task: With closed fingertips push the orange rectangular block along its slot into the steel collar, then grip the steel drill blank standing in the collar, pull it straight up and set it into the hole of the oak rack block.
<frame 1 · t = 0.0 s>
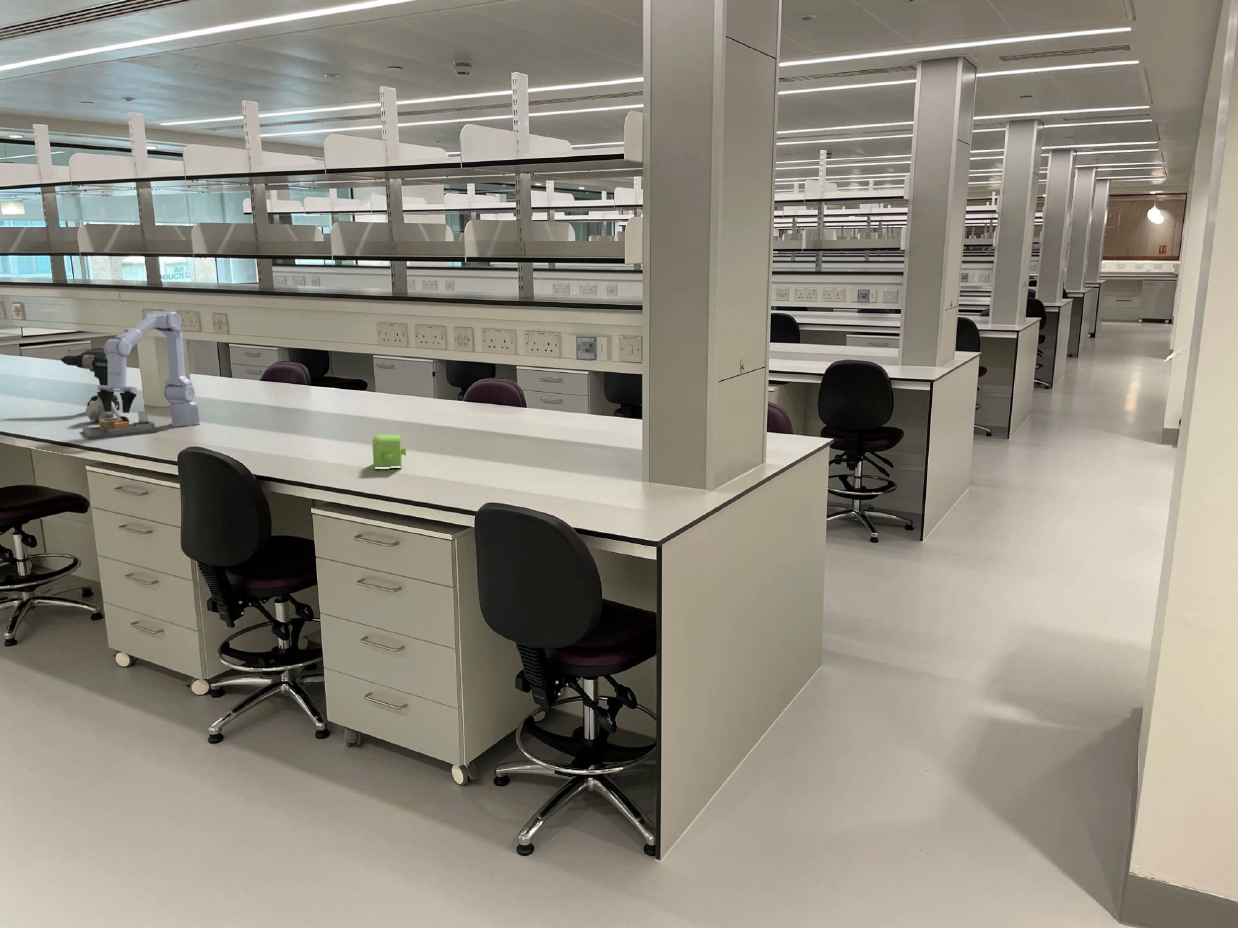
hand: (116, 412, 308), 11 cm above the table, fingers open, 7 cm apart
mechanical valve: (112, 424, 341), on the table
rack: (111, 427, 328), resting on slate board
orange rectangular block: (121, 426, 325), point 3 cm above the table, slide at 0.0 cm
power drill: (98, 412, 363), on the table
gearbox: (390, 467, 281), on the table
drill blank: (144, 427, 329), point 1 cm above the table, touching slate board
slate board: (119, 432, 326), on the table
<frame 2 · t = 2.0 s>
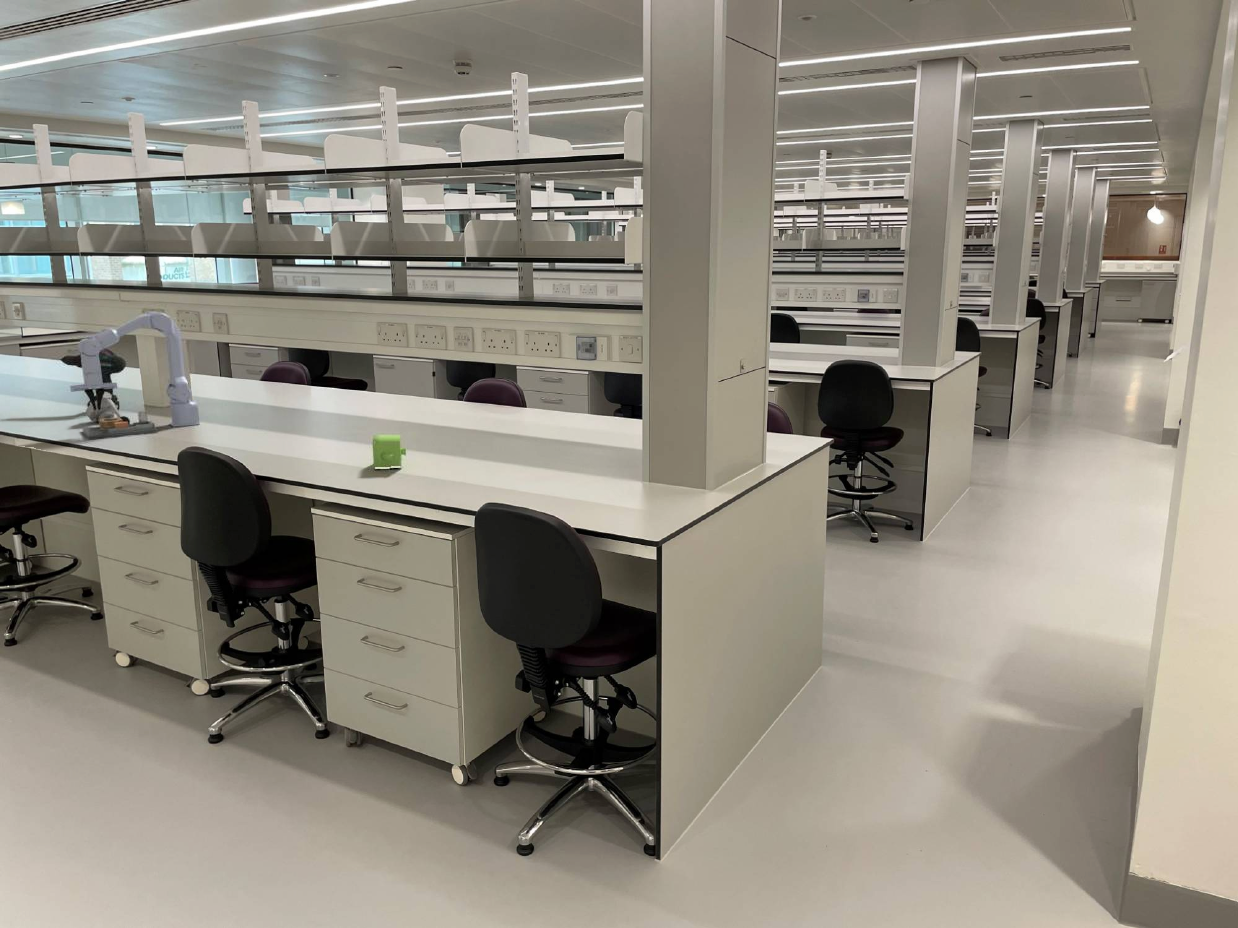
hand: (97, 409, 319), 9 cm above the table, fingers closed
nothing on the table moved.
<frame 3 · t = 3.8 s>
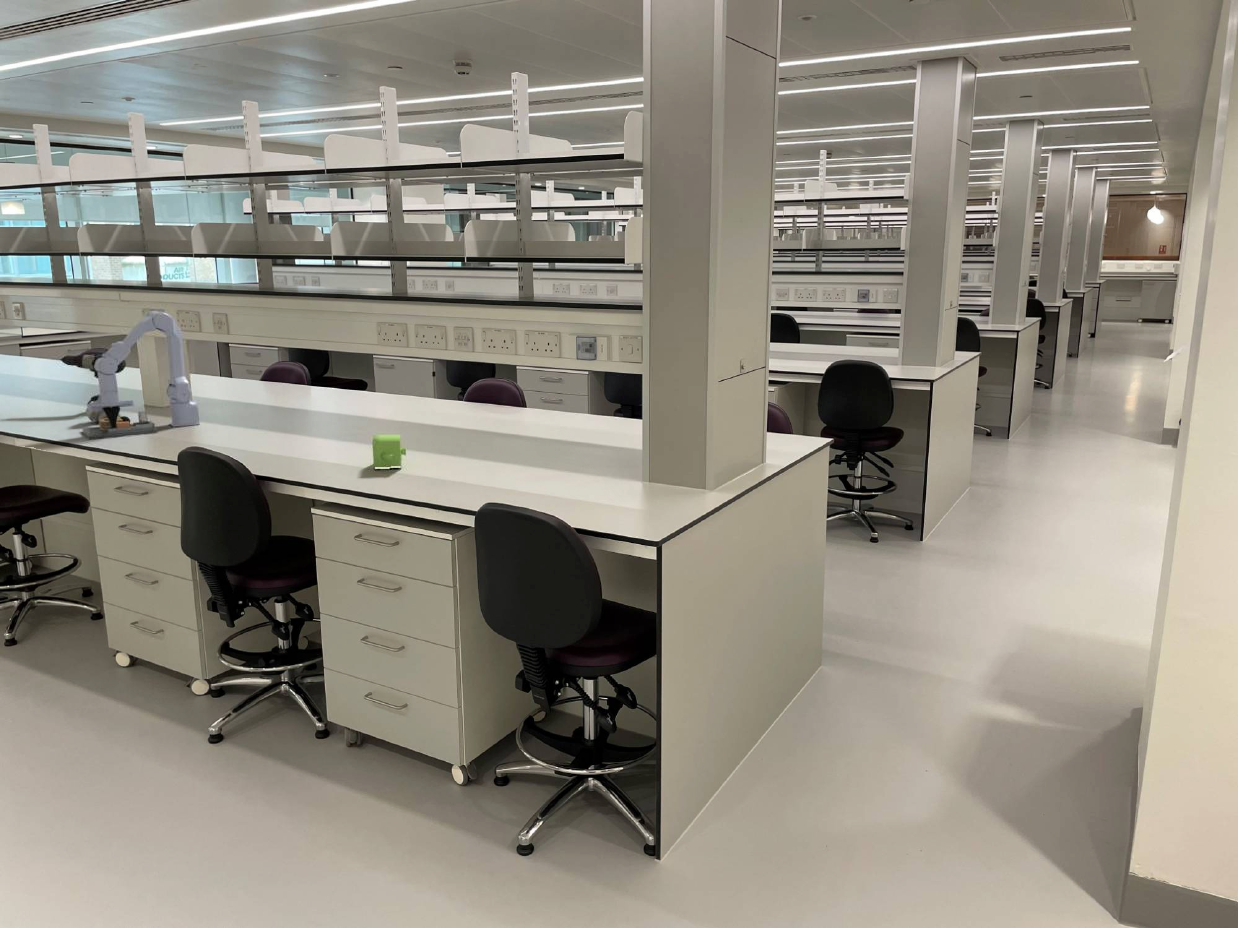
hand: (113, 427, 323), 2 cm above the table, fingers closed
orange rectangular block: (123, 425, 325), point 3 cm above the table, slide at 0.6 cm, touching gripper
everything else where it was.
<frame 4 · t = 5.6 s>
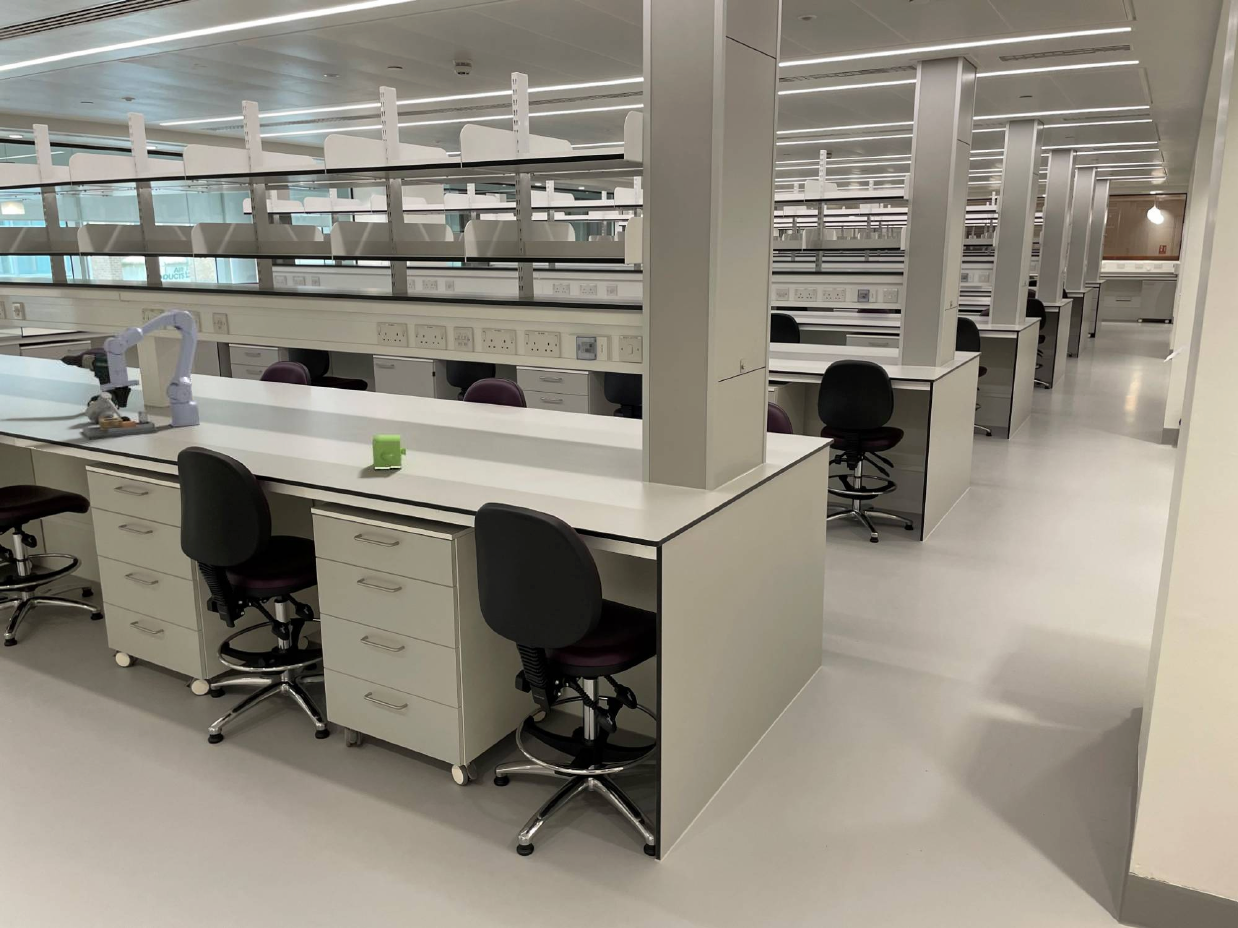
hand: (123, 407, 324), 9 cm above the table, fingers closed
orange rectangular block: (129, 425, 326), point 3 cm above the table, slide at 2.6 cm
everything else where it was.
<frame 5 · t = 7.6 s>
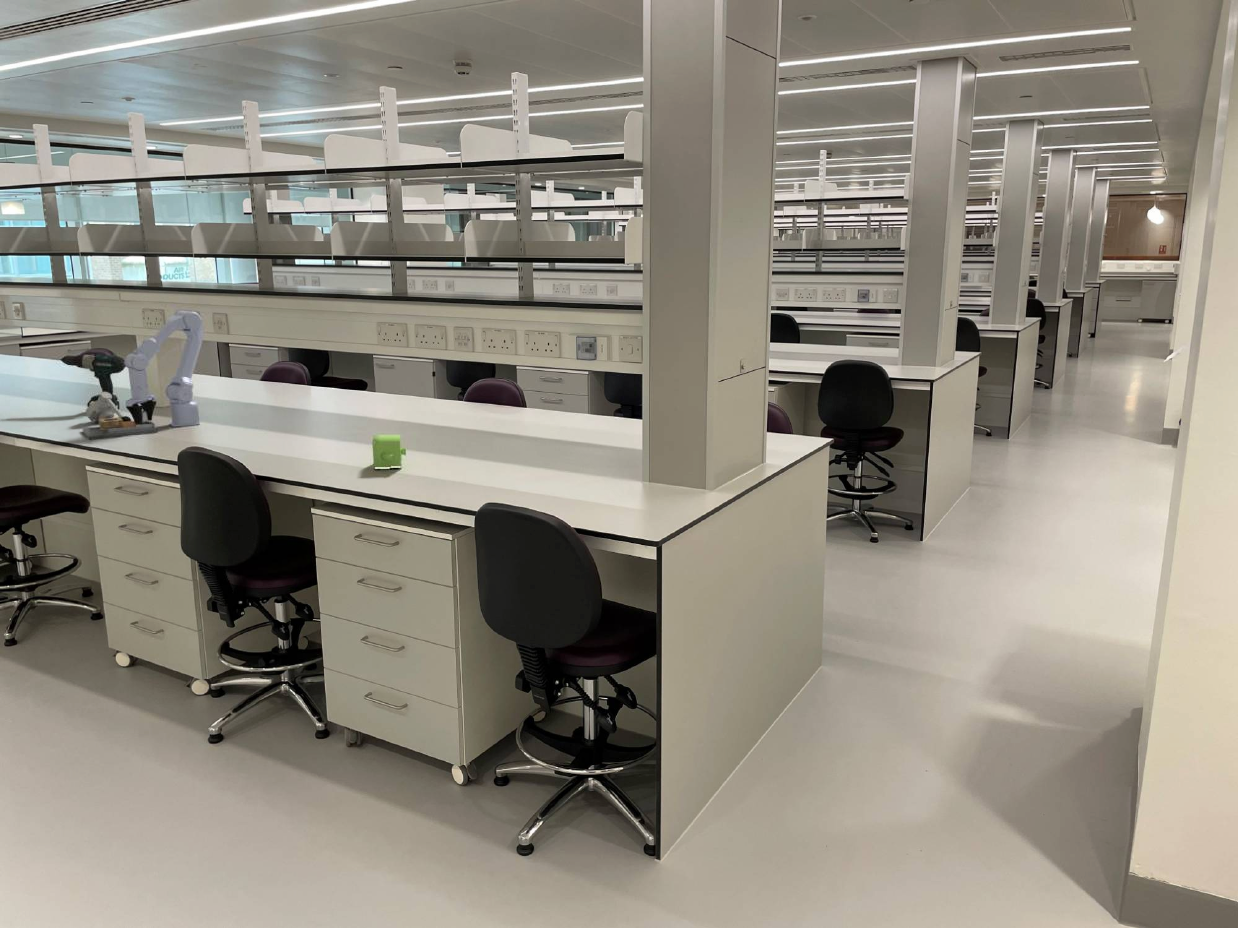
hand: (143, 422, 329), 3 cm above the table, fingers open, 5 cm apart
orange rectangular block: (129, 425, 326), point 3 cm above the table, slide at 2.6 cm, touching gripper
everything else where it was.
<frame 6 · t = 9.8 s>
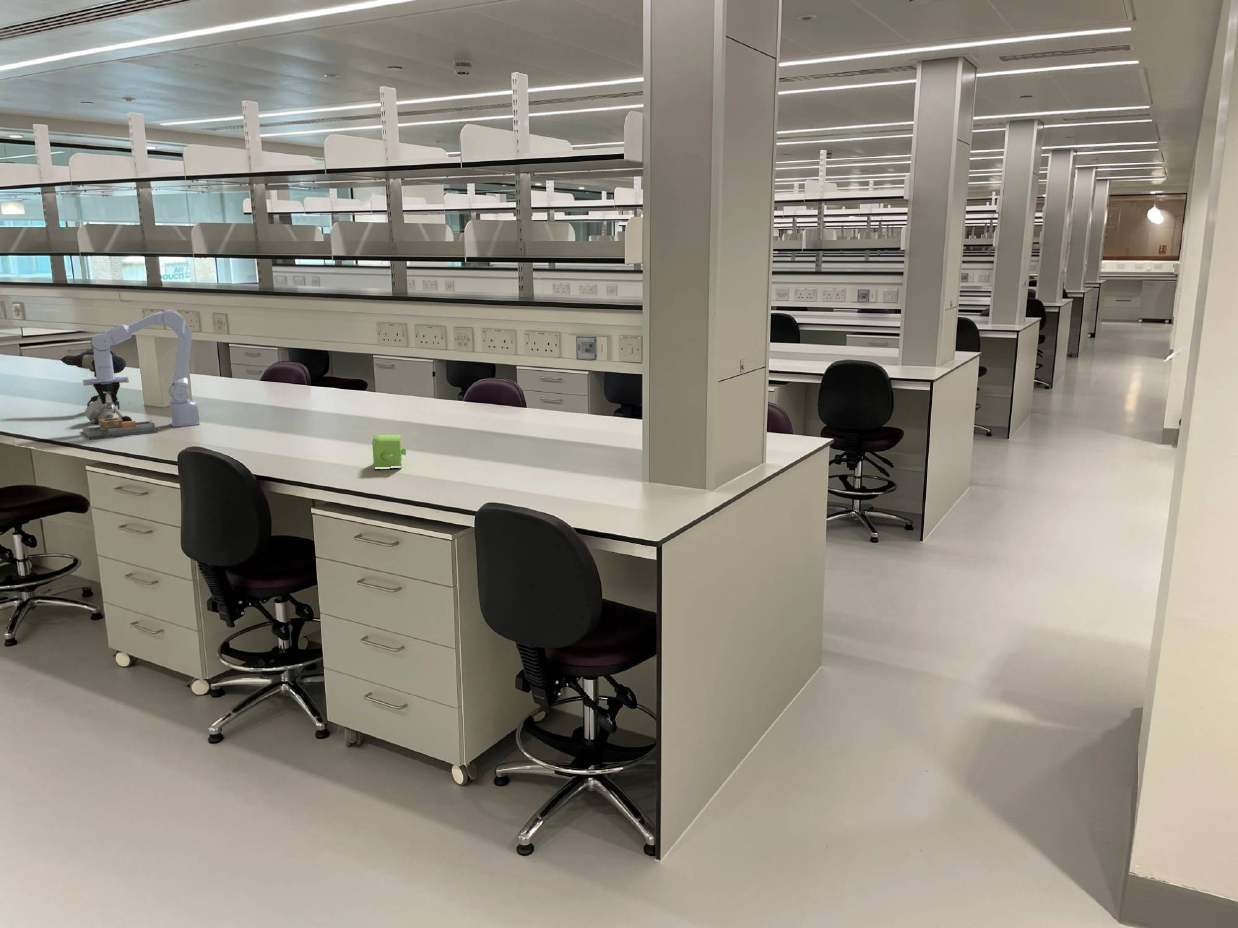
hand: (108, 403, 326), 10 cm above the table, fingers closed on drill blank, 3 cm apart
orange rectangular block: (129, 425, 326), point 3 cm above the table, slide at 2.5 cm
drill blank: (109, 408, 326), point 8 cm above the table, touching gripper
everything else where it was.
when the fingers open (4 cm above the table, at t = 11.3 s): drill blank drops 1 cm, resting on slate board.
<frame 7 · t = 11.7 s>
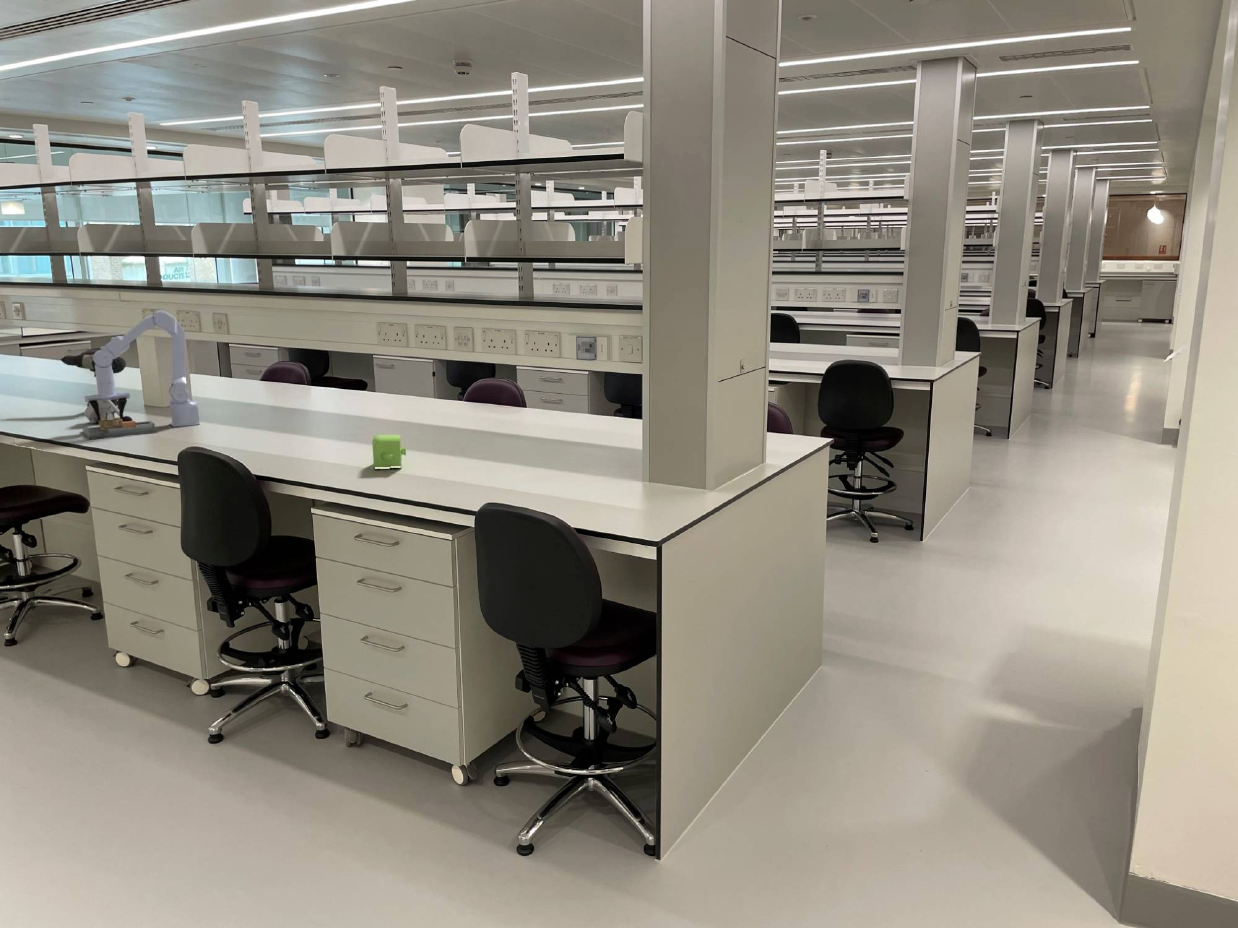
hand: (110, 419, 327), 4 cm above the table, fingers open, 7 cm apart
drill blank: (111, 427, 328), point 1 cm above the table, touching slate board
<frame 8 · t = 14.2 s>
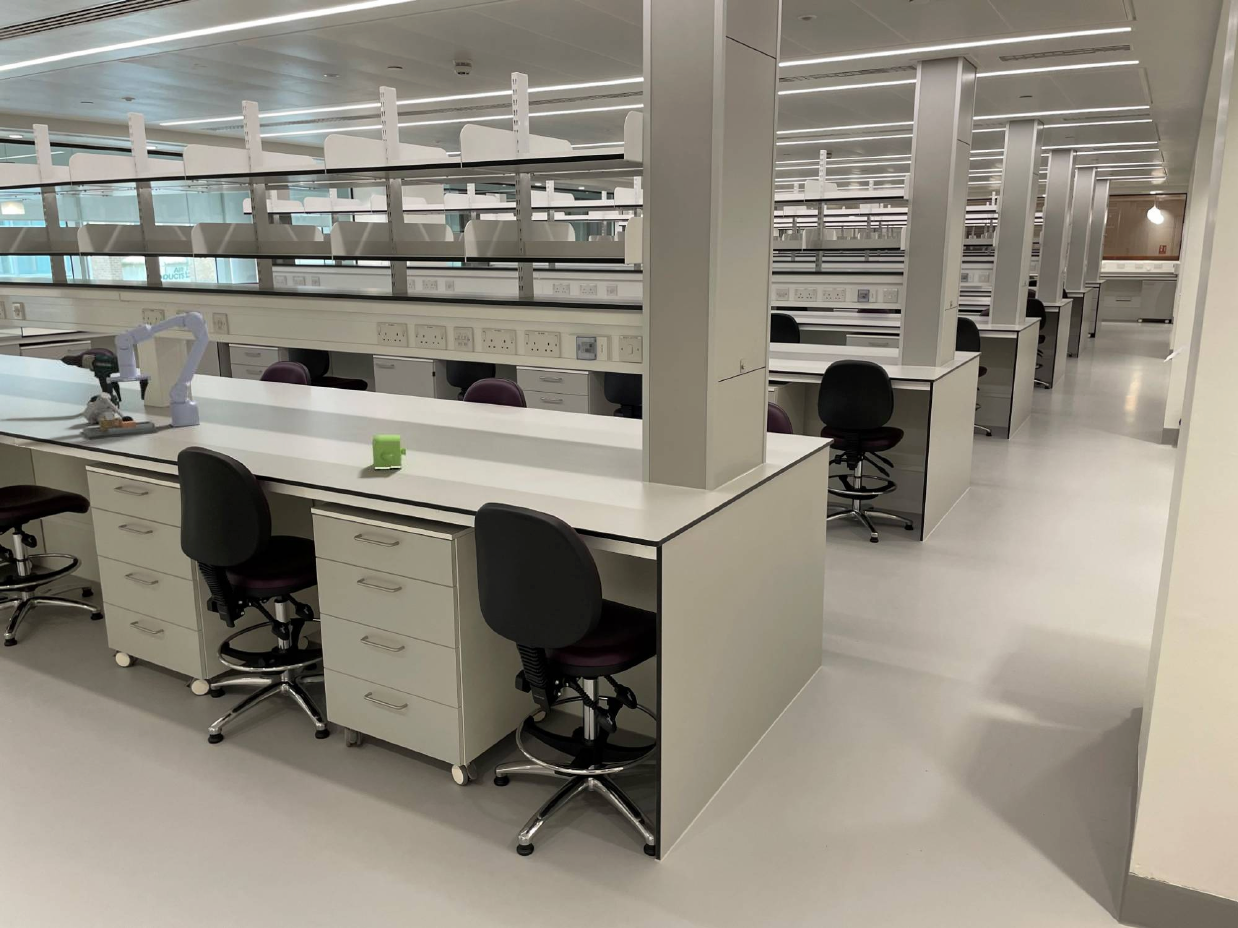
hand: (131, 400, 332), 10 cm above the table, fingers open, 7 cm apart
at the end: orange rectangular block slide at 2.5 cm; drill blank 0.0 cm off-centre on the rack, point 0.0 cm above the rack's base; drill blank tilted 0° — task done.
